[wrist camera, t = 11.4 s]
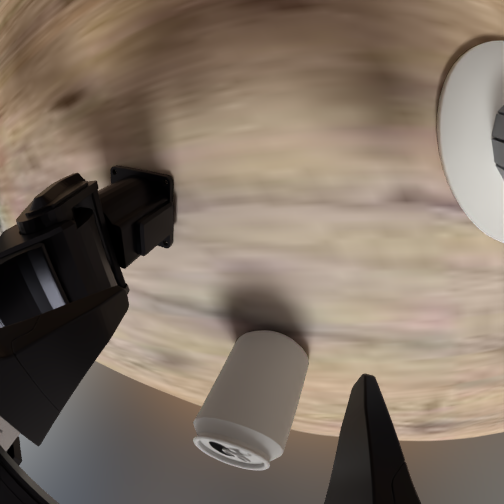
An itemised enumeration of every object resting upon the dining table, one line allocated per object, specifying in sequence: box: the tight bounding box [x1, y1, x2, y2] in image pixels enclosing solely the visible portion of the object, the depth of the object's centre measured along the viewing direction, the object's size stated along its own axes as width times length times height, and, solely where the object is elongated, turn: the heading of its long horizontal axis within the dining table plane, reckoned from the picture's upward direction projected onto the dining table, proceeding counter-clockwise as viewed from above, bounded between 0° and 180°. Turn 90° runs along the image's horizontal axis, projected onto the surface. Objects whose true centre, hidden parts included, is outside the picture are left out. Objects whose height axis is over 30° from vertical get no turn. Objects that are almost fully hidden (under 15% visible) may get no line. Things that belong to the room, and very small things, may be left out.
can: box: [193, 330, 309, 470], centre depth 22 cm, size 8×8×12 cm
